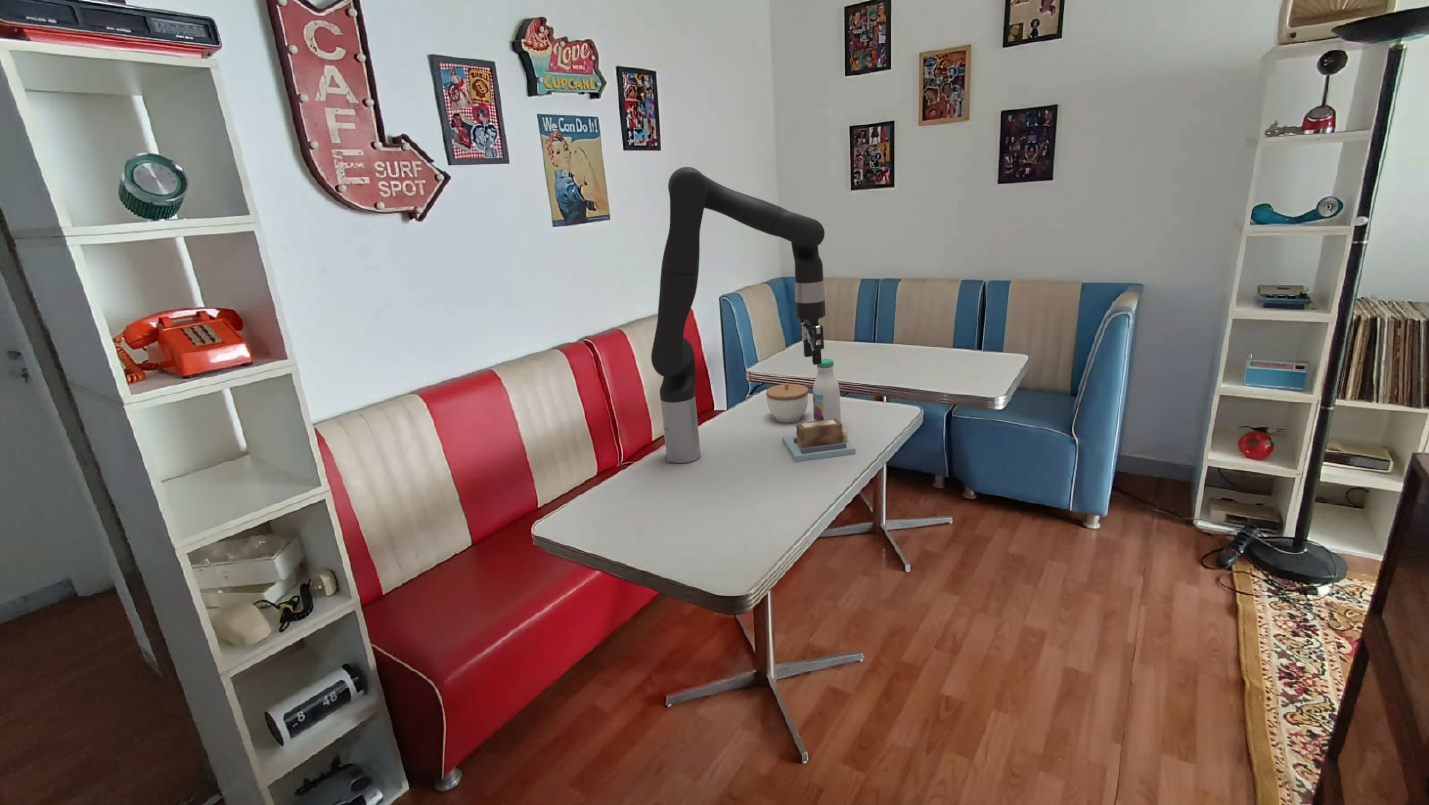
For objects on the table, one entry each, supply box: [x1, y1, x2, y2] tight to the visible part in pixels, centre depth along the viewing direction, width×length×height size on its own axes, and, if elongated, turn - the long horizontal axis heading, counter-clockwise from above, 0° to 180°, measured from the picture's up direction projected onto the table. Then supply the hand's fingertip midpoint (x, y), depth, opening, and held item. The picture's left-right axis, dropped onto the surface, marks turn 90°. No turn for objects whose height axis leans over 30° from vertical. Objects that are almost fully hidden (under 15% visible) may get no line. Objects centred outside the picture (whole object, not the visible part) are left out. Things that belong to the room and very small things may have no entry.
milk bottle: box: [812, 358, 842, 424], centre depth 199 cm, size 8×8×20 cm
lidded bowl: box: [765, 382, 809, 423], centre depth 210 cm, size 13×13×11 cm
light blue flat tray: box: [781, 429, 856, 463], centre depth 187 cm, size 16×15×4 cm
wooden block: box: [795, 418, 843, 449], centre depth 185 cm, size 11×5×6 cm, turn 98°
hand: (812, 360), depth 182 cm, fingers open, 8 cm apart
